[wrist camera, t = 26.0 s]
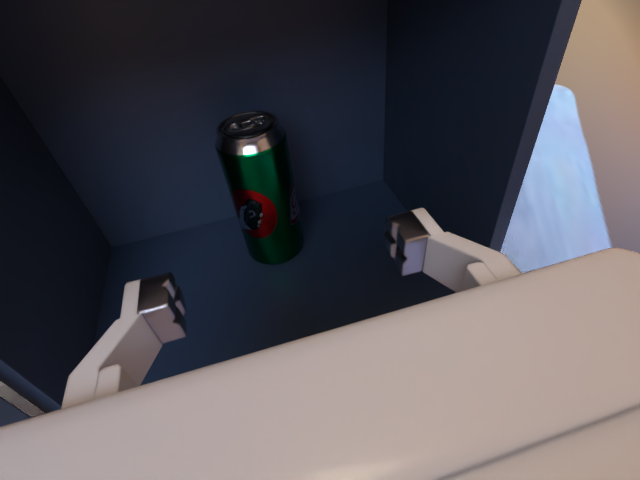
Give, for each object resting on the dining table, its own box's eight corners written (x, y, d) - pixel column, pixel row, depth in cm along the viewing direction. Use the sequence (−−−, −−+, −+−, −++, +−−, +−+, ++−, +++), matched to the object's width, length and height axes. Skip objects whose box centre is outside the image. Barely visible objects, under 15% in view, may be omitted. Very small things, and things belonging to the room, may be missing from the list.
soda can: (312, 258, 33) (292, 129, 25) (256, 276, 32) (216, 149, 24) (295, 224, 36) (273, 102, 28) (244, 239, 35) (205, 118, 27)
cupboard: (483, 304, 29) (626, -137, 13) (71, 431, 25) (-515, 16, 8) (388, 181, 42) (398, -115, 26) (107, 250, 38) (-95, -51, 21)
